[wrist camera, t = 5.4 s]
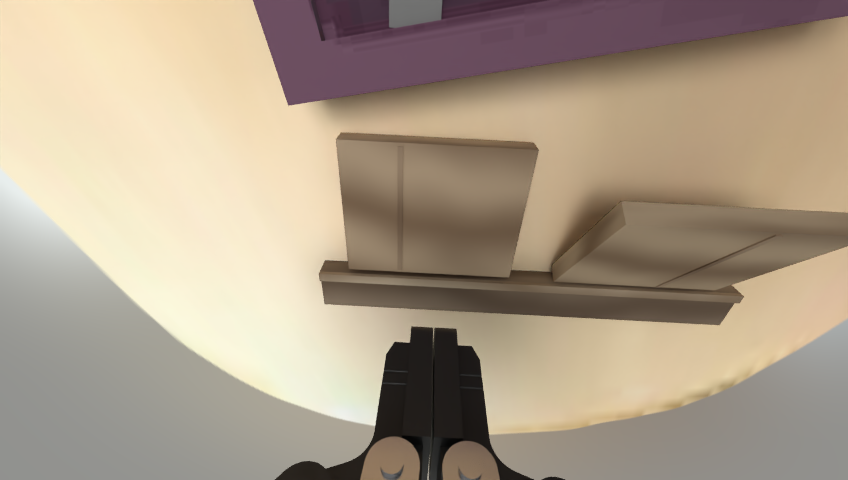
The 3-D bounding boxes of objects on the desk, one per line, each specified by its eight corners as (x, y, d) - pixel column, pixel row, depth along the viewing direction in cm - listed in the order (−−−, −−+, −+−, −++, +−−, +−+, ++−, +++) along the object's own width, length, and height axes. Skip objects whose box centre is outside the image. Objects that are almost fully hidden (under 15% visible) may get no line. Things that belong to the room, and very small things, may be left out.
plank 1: (340, 132, 20) (335, 139, 19) (533, 142, 20) (539, 150, 19) (352, 258, 25) (348, 269, 24) (506, 266, 25) (509, 278, 24)
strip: (325, 260, 25) (318, 273, 24) (727, 281, 25) (744, 296, 24) (329, 292, 27) (323, 306, 25) (707, 312, 27) (722, 328, 25)
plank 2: (621, 200, 16) (626, 226, 16) (861, 213, 16) (874, 239, 16) (551, 265, 24) (553, 282, 24) (710, 273, 24) (715, 291, 24)
